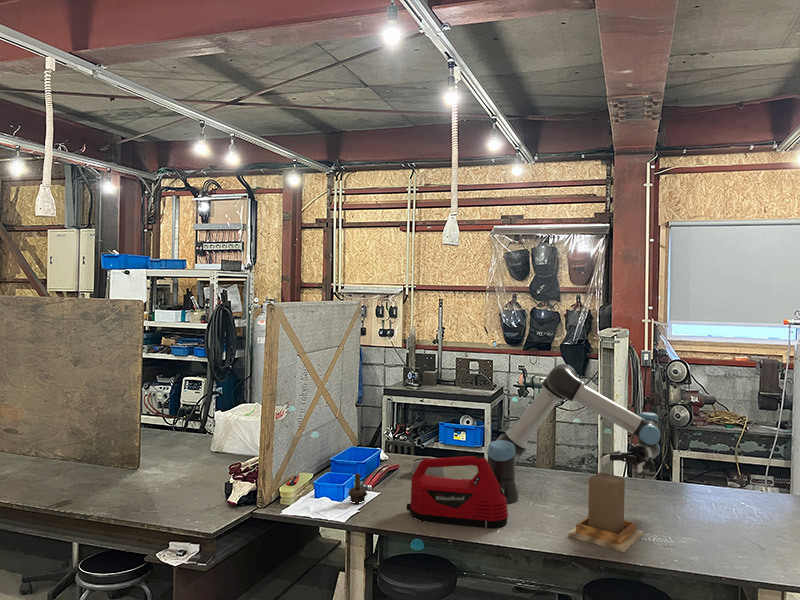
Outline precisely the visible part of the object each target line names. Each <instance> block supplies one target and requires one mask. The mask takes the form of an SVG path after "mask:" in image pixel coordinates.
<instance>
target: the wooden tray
mask: <svg viewBox="0 0 800 600" xmlns="http://www.w3.org/2000/svg"><path fill="white" fill-rule="evenodd" d="M567 534H568V536H569V538H572V539H575V538H576V539H575V540H579V541H582V542H586V541H587V542H586V543H589V542H590V543H589V544H593V545H596V544H597V546H599V545H601V546H600V547H603V546H604V548H606V547H608V548H607V549H611V550H613V551H617V552H620V551H621V552H620V553H625V552H626V551H627V550H628V549H630V548H631V547H632V546H633V545H634V544H635V543H637V542H638V540H640V539H641V538H642V537H643V536H644V531H643V530H640V529H637V523H636V522H633V521H629V520H625V519H624V530H623V531H622V532H621V533H620V534H615V533H611V532H608V531H604V530H600V529H597V528H593V527H589V526H588V515H587V516H586V517H585V518H582V520H579V522H577V523H575V527H574V528H573V529H571V530H569V531H568V533H567ZM568 536H567V537H568ZM631 545H632V546H631ZM630 546H631V547H630Z"/></svg>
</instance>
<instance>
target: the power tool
mask: <svg viewBox="0 0 800 600" xmlns="http://www.w3.org/2000/svg"><path fill="white" fill-rule="evenodd" d="M464 466H475V467H477V473H476V474H475V475H474V476H473V478H471V479H470V478H458V477H450V476H429V475H427V474H425V472H426V470H427V468H432V467H445V468H446V467H464ZM411 476H412V477H411V488H410V489H411V490H410V503H407V504H406V511H409V512H410V513H411V516H413V517H414V518H416V519H418V520H417V521H419V520H421V521H420V522H424V521H427V522H426V523H433V524H443V525H452V526H460V527H461V526H462V527H470V528H481V529H494V530H495V529H497V528H501V527H504V526H506V525H507V523H508V517H509V511H508V505H507V504H508V503H506V497H505V496H504V494H503V493H504V491H503V489H502V488H501V487H500V485H499V483H498V481H497V479H496V477H495V475H494V473H493V471H492V469H491V467H490V465H489V463H488V459H487V458H485V457H484V456H483V457H482V456H480V455H479V456H473V455H470V456H468V455H467V456H452V457H451V456H449V457H434V458H431V459H424V460H422V461H421V462H420V464H419V465H418V467H417V469H416V471H415V473H414V474H412V475H411ZM413 517H412V518H413ZM414 518H413V519H414ZM416 519H415V520H416Z"/></svg>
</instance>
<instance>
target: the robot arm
mask: <svg viewBox="0 0 800 600" xmlns="http://www.w3.org/2000/svg"><path fill="white" fill-rule="evenodd" d="M541 387H542V389H541V390H540V392H539V393H538V394H537V396H536V397H535V398H534V400H533V401H532V402H531V404H530V405H529V406H528V407H527V409H526V410H525V411H524V413H523V414H522V415H521V417H520V418H519V419H518V420H517V422H516V423H515V424H514V426H513V427H512V429H510V430H509V429H508V430H506V431H505V432H504V434H502V436H500V437H501V438H499V439H498V440H492V441H491V442H489V444H488V447H487V450H486V451H487V462H488V463H489V465H490V467H491V469H492V471H493V473H494V475H495V477H496V479H497V481H498V483H499V485H500V487H501V488H502V489H503V491H504V493H503V494H504V496H505V497H506V504H511V503H515V502H517V501H518V500H519V491H518V487H517V484H516V481H515V478H516V477H515V476H516V474H515V473H516V471H515V470H516V464H517V462H518V461H519V459H520V458H521V456H522V455H523V454H524V453H525V451H526V450H527V448H528V441H529V440H530V439H531V438H532V436H533V435H534V434H535V432H536V431H537V430H538V429H539V427H540V426H541V425H542V423H543V422H544V421H545V419H546V418H547V417H548V416H549V414H550V413H551V412H552V410H553V409H554V408H555V407H556V406H557V404H558V402H562V401H565V399H567V401H570V402H572V403H573V402H577V404H580V405H582V406H583V407H586V409H589V410H590V411H592V412H594V413H596V414H597V415H599V416H601V417H603V418H604V419H606V420H608V421H610V422H611V423H613V424H615V425H616V426H618V427H620V428H622V429H623V430H625V431H627V432H629V433H631V435H633V436H634V437H637V444H636V445H634V446H631V447H630V448H629V449H628V450H627V452H626V451H625V452H622V451H621V450H616V451H606V452H605V451H604V452H601V465H603V466H604V465H606V464H609V462H610V461H611V462H612V461H615V462H616V461H617V462H618V461H619V462H620V461H621V462H623V463H630V464H632V465H633V466H636V467H637V470H636V472H637V474H638V473H639V474H640V473H642V472H643V471H644V470H645V471H647V470H652V471H655V467H656V463H655V462H654V459H655V458H657V457H658V455H659V454H660V451H661V448H660V444H659V443H658V442H659V441H660V438H661V431H660V427H659V422H660V421H659V415H658V414H657V413H654V412H645V411H643V412H640V413H639V414H638V415H637V414H635V413H634V412H633V411H630V410H628V409H627V408H626V407H624V406H622V405H620V404H618V403H616V402H614V401H613V400H611V399H609V398H608V397H606V396H604V395H602V394H600V393H599V392H597V391H596V390H594V389H592V388H590V387H588V386H586V384H585V382H584V381H583V380H581V379H579V378H578V374H577V371H576V369H574V368H573V367H572V366H571V365H569V364H566V363H565V364H564V363H563V364H561V363H560V364H558V365H555V366H554V367H553V368H552V370H551V371H550V372H549V373H548V375H547V377H546V378H545V379H544V381H543V382H542V383H541Z"/></svg>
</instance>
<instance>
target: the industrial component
mask: <svg viewBox="0 0 800 600" xmlns="http://www.w3.org/2000/svg"><path fill="white" fill-rule="evenodd" d="M354 477H355V478H354V485H355V486H354V487H352V488H351V487H350V488H349V489H348V492H347V494H348V496H349V497H350V501H352V502H355V503H359V502H362V501H365V502H366V500H365V497H367V496H368V493H367V489H366V488H364V487H361V473H358V472H357V473H355V474H354ZM350 501H349V502H350Z"/></svg>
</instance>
